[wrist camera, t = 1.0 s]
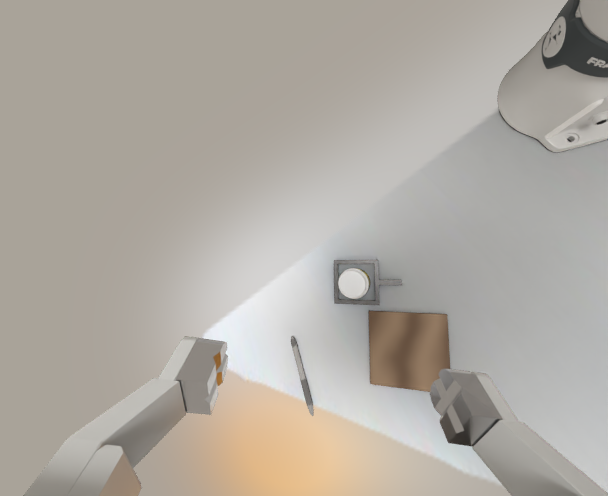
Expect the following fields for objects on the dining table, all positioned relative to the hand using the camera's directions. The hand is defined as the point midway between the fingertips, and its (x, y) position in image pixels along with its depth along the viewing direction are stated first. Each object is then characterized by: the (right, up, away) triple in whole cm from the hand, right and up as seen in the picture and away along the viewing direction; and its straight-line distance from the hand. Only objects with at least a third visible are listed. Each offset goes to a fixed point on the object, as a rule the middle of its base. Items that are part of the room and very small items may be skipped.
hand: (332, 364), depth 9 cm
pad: (+16, -12, +31) cm, 37 cm away
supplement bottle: (+8, -2, +34) cm, 36 cm away
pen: (-1, -19, +36) cm, 41 cm away
